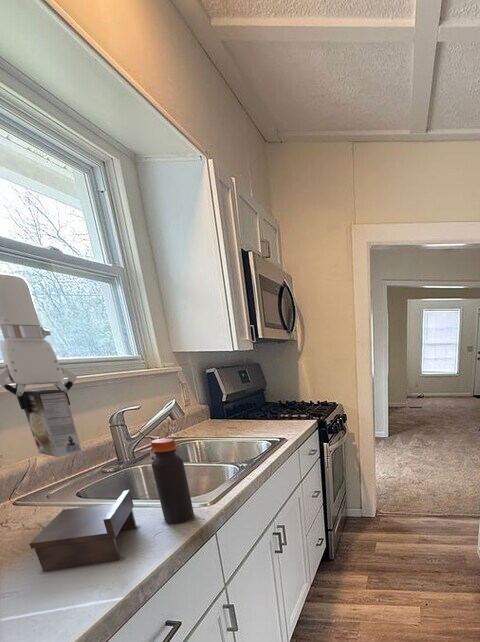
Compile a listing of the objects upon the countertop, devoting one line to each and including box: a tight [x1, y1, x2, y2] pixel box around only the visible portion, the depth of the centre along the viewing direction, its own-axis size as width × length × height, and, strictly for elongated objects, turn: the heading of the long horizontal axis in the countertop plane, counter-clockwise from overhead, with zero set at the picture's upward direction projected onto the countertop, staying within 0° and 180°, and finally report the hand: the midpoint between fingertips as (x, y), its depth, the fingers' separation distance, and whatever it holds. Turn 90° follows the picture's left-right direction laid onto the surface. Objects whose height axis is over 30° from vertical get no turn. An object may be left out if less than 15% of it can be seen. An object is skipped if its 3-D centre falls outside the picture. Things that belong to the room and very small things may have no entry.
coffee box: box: [23, 388, 83, 458], centre depth 103 cm, size 9×6×16 cm
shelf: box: [29, 489, 137, 572], centre depth 86 cm, size 14×18×9 cm
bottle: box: [150, 437, 195, 524], centre depth 98 cm, size 7×7×20 cm
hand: (47, 409), depth 102 cm, fingers closed on coffee box, 7 cm apart
